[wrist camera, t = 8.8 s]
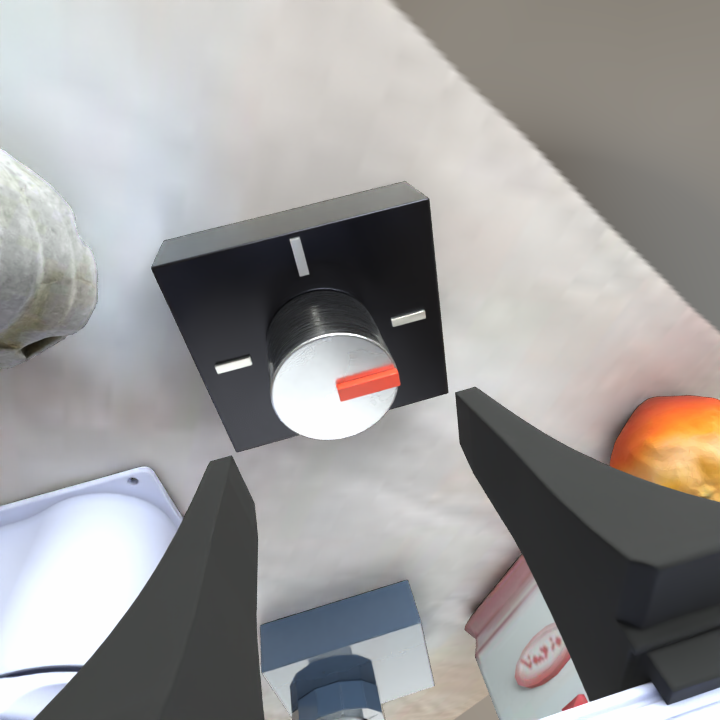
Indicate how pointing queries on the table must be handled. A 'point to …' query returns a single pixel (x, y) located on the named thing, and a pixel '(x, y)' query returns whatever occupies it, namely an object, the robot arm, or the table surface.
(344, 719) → the white short cylinder
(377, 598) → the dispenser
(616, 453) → the fruit
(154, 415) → the table surface
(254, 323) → the tap plate
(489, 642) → the bottle
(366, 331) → the rotary dial knob
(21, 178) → the seashell
